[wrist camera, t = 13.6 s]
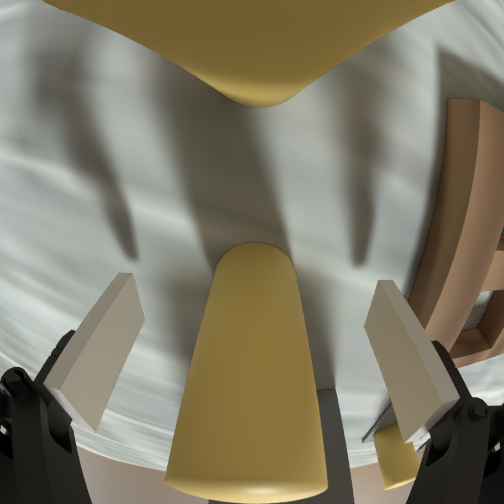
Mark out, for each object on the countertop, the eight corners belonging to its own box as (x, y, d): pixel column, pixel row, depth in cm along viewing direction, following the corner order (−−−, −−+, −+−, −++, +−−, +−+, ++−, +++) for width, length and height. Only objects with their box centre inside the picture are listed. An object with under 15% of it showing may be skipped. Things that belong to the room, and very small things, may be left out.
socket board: (385, 353, 16) (396, 381, 14) (447, 98, 9) (480, 99, 6) (492, 334, 16) (504, 352, 14) (550, 153, 8) (573, 163, 6)
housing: (232, 457, 26) (226, 528, 17) (222, 389, 18) (207, 516, 9) (302, 458, 25) (305, 527, 16) (335, 389, 18) (355, 510, 9)
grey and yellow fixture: (361, 440, 23) (371, 494, 17) (410, 374, 17) (438, 449, 11) (398, 432, 23) (411, 482, 17) (453, 364, 17) (484, 429, 11)
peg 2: (217, 309, 14) (182, 496, 6) (213, 241, 13) (142, 461, 4) (291, 311, 14) (310, 501, 6) (299, 243, 13) (349, 470, 4)
